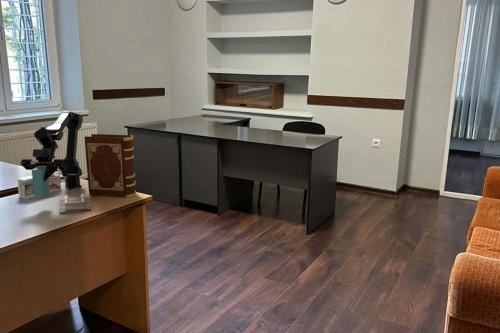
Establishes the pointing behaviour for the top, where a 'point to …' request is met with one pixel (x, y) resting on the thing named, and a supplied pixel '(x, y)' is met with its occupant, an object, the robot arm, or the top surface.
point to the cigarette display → (28, 190)
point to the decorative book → (110, 165)
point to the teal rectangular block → (40, 181)
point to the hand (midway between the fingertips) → (39, 180)
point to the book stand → (74, 205)
